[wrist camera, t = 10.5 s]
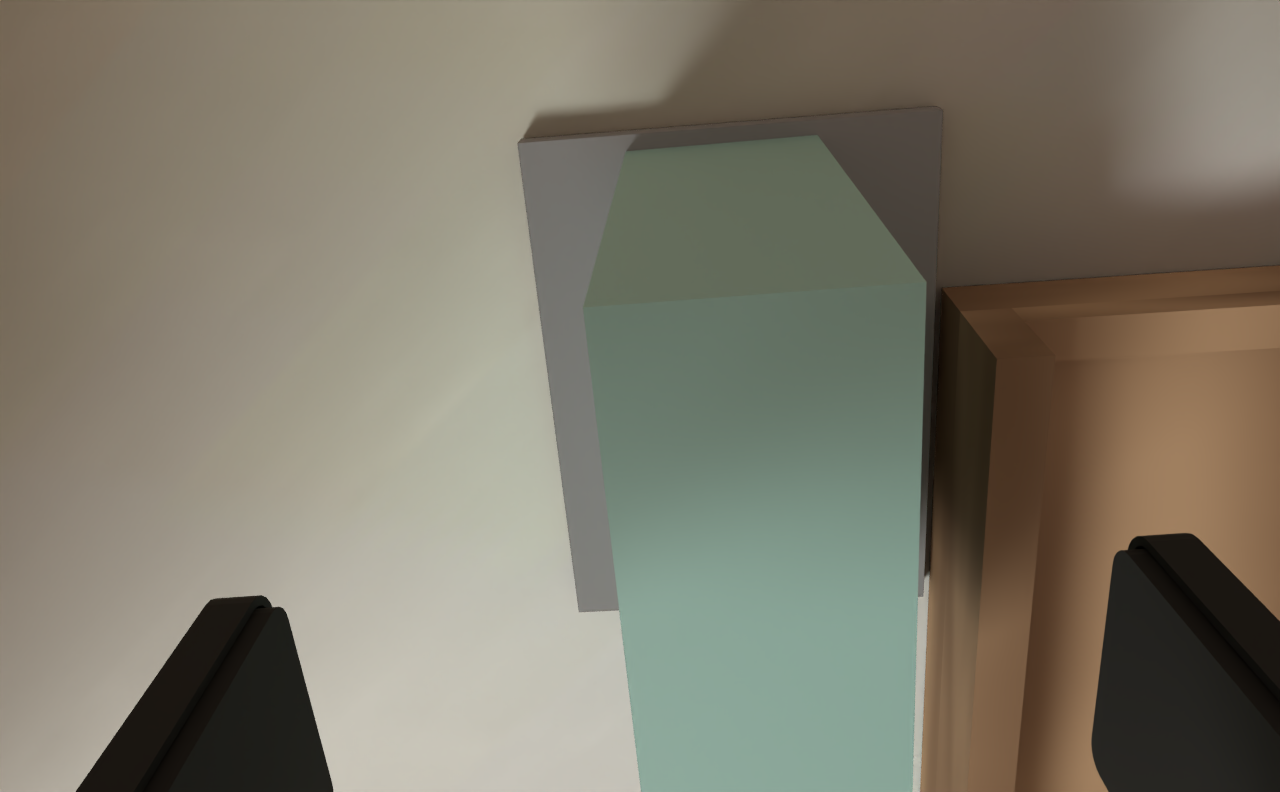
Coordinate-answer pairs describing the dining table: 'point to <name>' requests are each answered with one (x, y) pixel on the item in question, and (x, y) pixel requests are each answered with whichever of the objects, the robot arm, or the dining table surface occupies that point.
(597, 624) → the dining table surface
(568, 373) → the felt pad
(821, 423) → the block
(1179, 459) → the tray
